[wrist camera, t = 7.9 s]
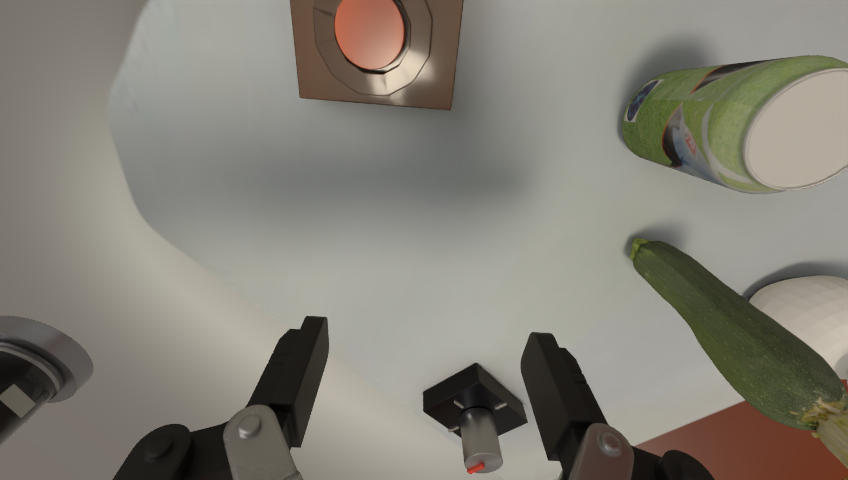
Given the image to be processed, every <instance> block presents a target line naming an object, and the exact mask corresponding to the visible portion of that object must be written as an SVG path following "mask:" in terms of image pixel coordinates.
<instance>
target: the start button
mask: <svg viewBox="0 0 848 480" xmlns="http://www.w3.org/2000/svg"><path fill="white" fill-rule="evenodd" d="M335 34H336V39H337V42H338V44H339V47H340V49H341V50H342V52H343V53H344V55H345V56H346V57H347V58H348V59H349V60H350V61H351V62H352V63H353V64H355V65H357V66H359V67H361V68H364V69H369V70H376V69H381V68H384V67H386V66H388V65H390V64H391V63H393V62H394V61H395V60H396V59H397V58H398V56H399V55H400V53H401V51H402V49H403V46H404V43H405V36H406V30H405V24H404V20H403V17H402V15H401V13H400V11H399V9H398V7H397V5H396V4H395V3H394V1H393V0H342V1H341V3H340V5H339V7H338V9H337V12H336V16H335Z"/></svg>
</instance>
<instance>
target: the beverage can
mask: <svg viewBox="0 0 848 480" xmlns="http://www.w3.org/2000/svg"><path fill="white" fill-rule="evenodd" d="M622 133H623V138H624V140H625V143H626V145H627V146H628V148H629V149H630V150H631V151H632V152H633V153H634V154H636V155H637V156H639V157H641V158H644V159H646V160H649V161H652V162H655V163H658V164H661V165H664V166H667V167H670V168H672V169H675V170H678V171H681V172H684V173H687V174H690V175H693V176H696V177H698V178H701V179H704V180H707V181H710V182H713V183H716V184H719V185H722V186H724V187H727V188H730V189H733V190H736V191H739V192H744V193H750V194H770V193H777V192H783V191H786V190H798V189H805V188H808V187H812V186H816V185H818V184H821V183H823V182H826V181H828V180H830V179H832V178H833V177H835V176H837V175H839V174H840V173H842V172H843V171H845V170H846V169H847V168H848V64H847V63H845V62H843V61H840V60H838V59H835V58H832V57H825V56H819V55H816V56H798V57H789V58H780V59H772V60H763V61H754V62H746V63H737V64H728V65H720V66H711V67H702V68H694V69H685V70H676V71H671V72H667V73H664V74H661V75H659V76H657V77H655V78H653V79H651V80H650V81H649V82H647V83H646V84H645V85H643V86H642V87H641V88H640V89H639V90H638V91H637V92H636V93H635V95H634V96H633V97H632V99H631V100H630V102H629V104H628V106H627V108H626V110H625V113H624V116H623V121H622Z"/></svg>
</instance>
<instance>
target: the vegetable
mask: <svg viewBox="0 0 848 480" xmlns="http://www.w3.org/2000/svg"><path fill="white" fill-rule="evenodd" d="M629 257H630V259H631V260H632V261H633V265H634V268H635V269H636V271H637V272H638V273H639V274H640V275H641V276H642V277H643V278H644V279H645V280H646V281H647V282H648V283H649V284H650V285H651V286H652V287H653V288H654V289H655V290H656V291H657V292H658V293H659V294H660V295H661V296H662V297H663V298H664V299H665V300H666V301H667V302H669V303H670V304H671V305H672V306H673V307H674V308H675V309H676V311H677V312H678V313H679V314H680V315H681V316H682V317H683V319H684V320H685V321H686V322H687V323H688V325H689V326H690V327H691V329H692V331H693V333H694V334H695V336H696V338H697V340H698V342H699V343H700V345H701V347H702V348H703V349H704V351H705V352H706V353H707V355H708V356H709V358H710V359H711V360H712V362H713V363H714V365H715V366H716V367H717V369H718V370H719V371H720V373H721V374H722V375H723V376H724V378H725V379H726V380H727V381H728V382H729V383H730V385H731V386H732V387H733V388H734V389H735V390H736V391H737V392H738V393H739V394H740V395H741V396H742V397H743V398H744V399H745V400H746V401H748V403H750V404H751V405H752V406H753V407H754V408H755V409H757V410H758V411H760V412H761V413H762V414H764V415H766V416H767V417H769V418H771V419H772V420H775V421H777V422H779V423H782V424H784V425H787V426H790V427H793V428H797V429H802V430H816V432H813V433H811V434H812V435H813V436H814V437H815V438H817V437H820V439H821V441H822V442H823V443H824V444H825V445H826V446H827V448H828V449H829V450H830V451H831V452H832V453H833V454H834V455H835V456H836V457H837V458H838V459H839V460H840V461H841V462H842V463H843V464H844V465H845V466H846V467H847V468H848V395H847V392H846V389H845V387H844V385H843V384H842V382H841V381H840V379H839V377H838V375H837V374H836V372H835V371H834V370H833V369H832V368H831V366H830V365H829V364H828V363H827V362H826V361H825V359H824V358H823V357H822V356H820V355H819V354H818V353H817V352H816V351H815V350H813V349H812V348H811V347H810V346H808V345H807V344H806V343H805V342H803V341H802V340H801V339H799V338H798V337H797V336H795V335H794V334H792V333H791V332H790V331H788V330H787V329H786V328H784V327H783V326H782V325H780V324H779V323H778V322H776V321H775V320H774V319H772V318H771V317H769V316H768V315H767V314H765V313H764V312H762V311H760V310H759V309H757V308H756V307H755V306H753V305H752V304H750V303H749V302H748V301H746V300H745V299H744V298H742V297H741V296H740V295H739V294H737V293H736V292H735V291H733V290H732V289H731V288H729V287H728V286H727V285H725V284H724V283H723V282H721V281H720V280H719V279H718V278H717V277H715V276H714V275H713V274H712V273H710V272H709V271H708V270H707V269H706V268H704V267H703V266H702V265H701V264H700V263H698V262H697V261H696V260H694V259H693V258H692V257H690V256H689V255H687V254H685V253H683V252H682V251H680V250H678V249H677V248H675V247H673V246H671V245H669V244H667V243H664V242H661V241H649V240H646V239H639V238H635V239H634V240H633V243H632V248H631V254H630V256H629ZM843 480H848V478H846V479H843Z"/></svg>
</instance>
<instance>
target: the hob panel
mask: <svg viewBox="0 0 848 480" xmlns="http://www.w3.org/2000/svg"><path fill="white" fill-rule="evenodd" d="M471 408H485V409H488V410H490V411H491V412H492V413H493V415H494V420H495V425H496V430H497V435H498V436H499V435H501V434H504V433H506V432H508V431H510V430H512V429H515V428H517V427H519V426H521V425H523V424H526V423H528V421H527V418H526V414H525V411H524V407H523V404H522V403H521V402H520V401H519V400H518V399H517V398H516V397H514V396H513V395H512V394H511V393H510V392H509V391H507V390H506V389H505V388H504V387H503V386H502V385H501V384H499V383H498V382H497V381H496V380H495V379H494V378H492V377H491V376H490V375H489V374H488V373H487V372H486V371H484V370H483V369H482V368H481V367H480V366H479V365H477V364H476V363H475V364H473V365H472V366H470V367H468V368H466V369H464V370H463V371H461V372H459V373H457V374H455V375H454V376H452V377H450V378H448V379H446V380H445V381H443V382H441V383H439V384H437V385H435V386H434V387H432V388H430V389H428V390H426V391H425V392H423V411H424V412H425V413H426V414H428V415H429V416H431V417H432V418H434V419H435V420H437V421H438V422H439V423H441V424H442V425H444V426H445V427H447V428H448V429H449V430H448V431H449V432H454V433H455V434H457V435H458V436H459V437H461V438H462V436H461V427H460V416H461V414H462V413H463V412H464V411H466V410H468V409H471Z"/></svg>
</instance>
